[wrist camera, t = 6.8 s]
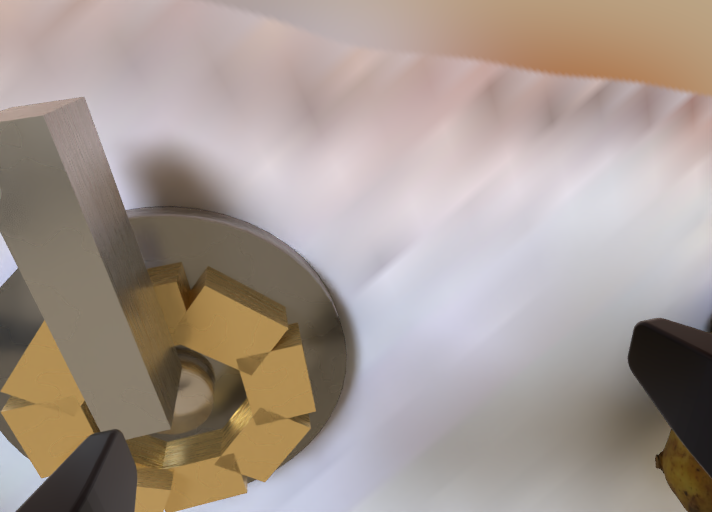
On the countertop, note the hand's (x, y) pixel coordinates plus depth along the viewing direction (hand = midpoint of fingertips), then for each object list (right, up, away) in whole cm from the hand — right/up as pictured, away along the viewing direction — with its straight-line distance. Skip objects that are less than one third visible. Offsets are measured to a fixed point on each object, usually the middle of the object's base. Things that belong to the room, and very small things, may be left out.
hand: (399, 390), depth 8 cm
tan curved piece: (-9, 0, +11) cm, 14 cm away
